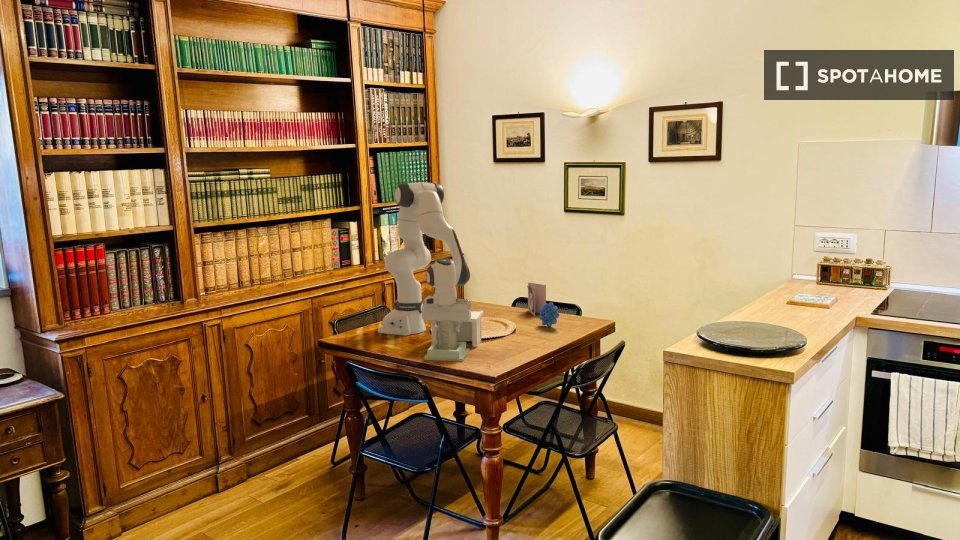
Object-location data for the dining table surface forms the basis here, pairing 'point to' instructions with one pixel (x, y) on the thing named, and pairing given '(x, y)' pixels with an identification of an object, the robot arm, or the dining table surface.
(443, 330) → the skincare box
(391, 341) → the dining table surface
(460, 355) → the green drawer
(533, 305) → the greeting card
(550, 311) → the grapes
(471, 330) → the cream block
